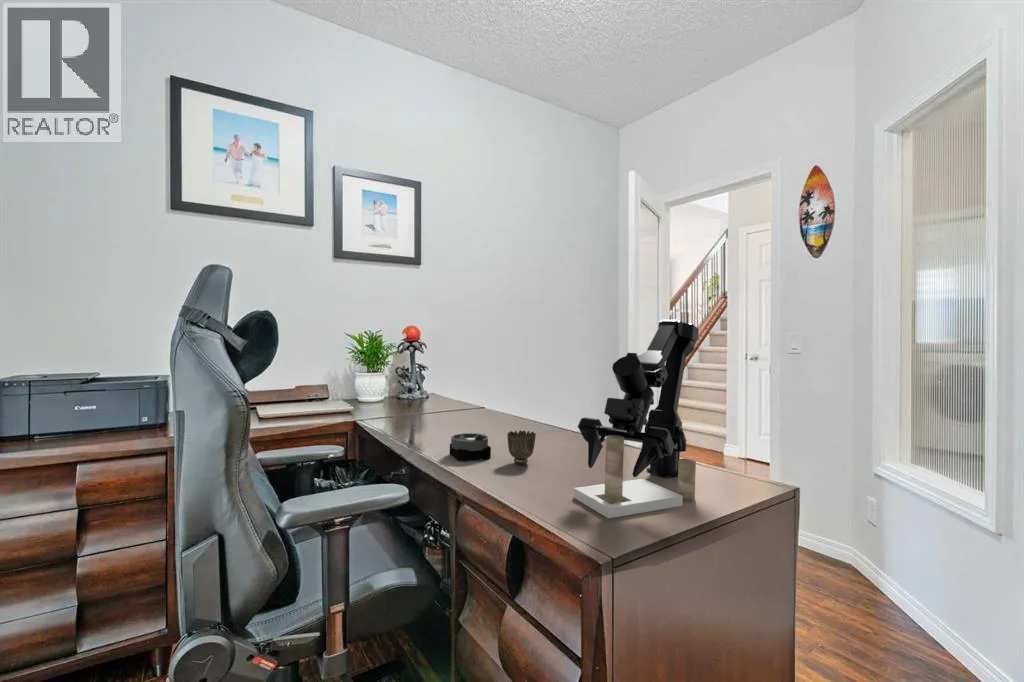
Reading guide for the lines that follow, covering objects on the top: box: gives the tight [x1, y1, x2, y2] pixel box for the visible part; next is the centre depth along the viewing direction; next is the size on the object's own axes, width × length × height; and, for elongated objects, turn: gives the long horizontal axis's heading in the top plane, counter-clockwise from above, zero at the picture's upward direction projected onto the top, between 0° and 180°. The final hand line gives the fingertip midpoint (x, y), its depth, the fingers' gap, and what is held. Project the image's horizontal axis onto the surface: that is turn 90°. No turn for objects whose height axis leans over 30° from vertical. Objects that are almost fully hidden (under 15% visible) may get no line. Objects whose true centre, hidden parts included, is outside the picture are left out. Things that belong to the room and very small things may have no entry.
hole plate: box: [573, 478, 683, 519], centre depth 98 cm, size 18×12×2 cm, turn 115°
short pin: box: [677, 458, 697, 502], centre depth 101 cm, size 3×3×8 cm
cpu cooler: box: [449, 432, 492, 463], centre depth 130 cm, size 10×6×10 cm
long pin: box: [604, 435, 625, 504], centre depth 94 cm, size 3×3×14 cm
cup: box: [507, 429, 537, 466], centre depth 125 cm, size 8×7×8 cm
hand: (611, 471), depth 93 cm, fingers open, 9 cm apart
